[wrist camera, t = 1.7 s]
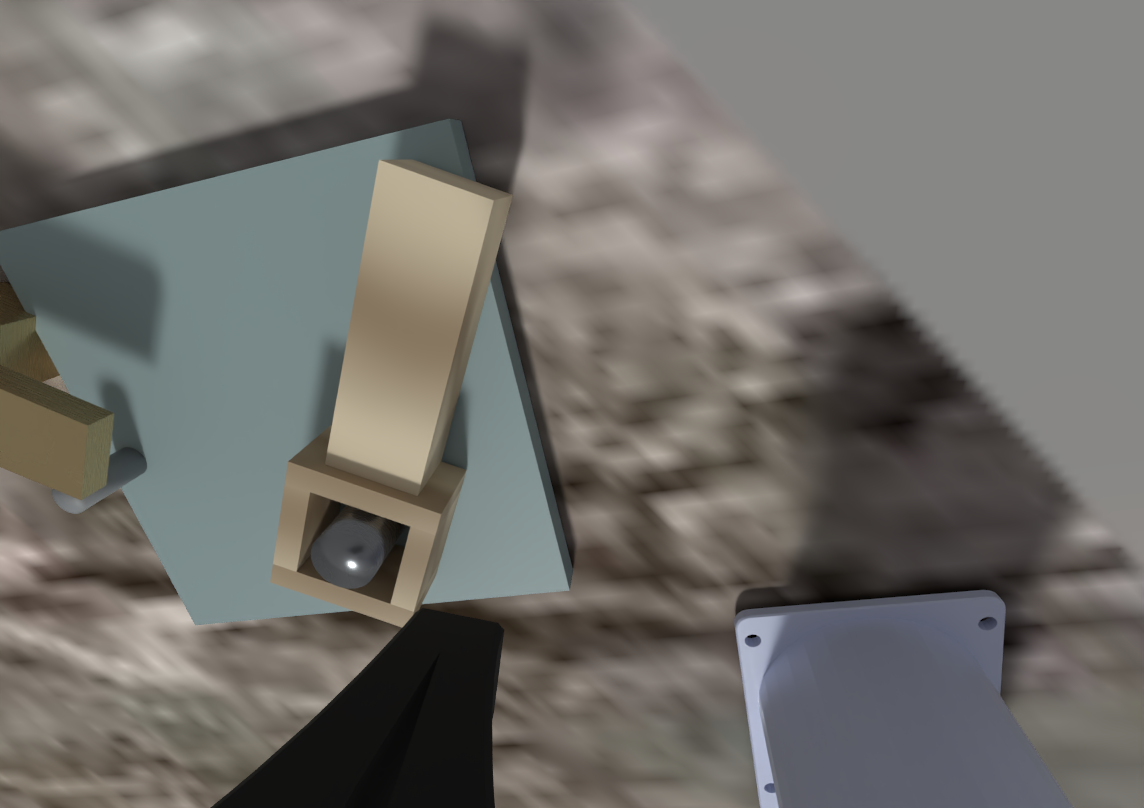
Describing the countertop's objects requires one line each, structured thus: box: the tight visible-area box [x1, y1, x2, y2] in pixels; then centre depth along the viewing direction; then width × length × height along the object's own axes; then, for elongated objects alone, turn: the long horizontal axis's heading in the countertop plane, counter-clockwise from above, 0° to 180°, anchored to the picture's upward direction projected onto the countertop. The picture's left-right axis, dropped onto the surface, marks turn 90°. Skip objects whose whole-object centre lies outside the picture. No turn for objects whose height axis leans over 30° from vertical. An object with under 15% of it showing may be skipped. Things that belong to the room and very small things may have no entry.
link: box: [270, 159, 513, 627], centre depth 16 cm, size 12×4×2 cm, turn 162°
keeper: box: [0, 282, 114, 500], centre depth 17 cm, size 7×2×4 cm, turn 67°
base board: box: [0, 119, 573, 625], centre depth 17 cm, size 14×14×3 cm
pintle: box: [311, 505, 407, 589], centre depth 18 cm, size 2×2×4 cm
